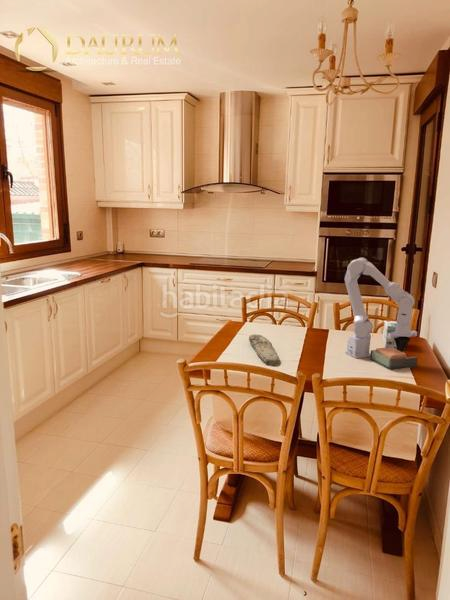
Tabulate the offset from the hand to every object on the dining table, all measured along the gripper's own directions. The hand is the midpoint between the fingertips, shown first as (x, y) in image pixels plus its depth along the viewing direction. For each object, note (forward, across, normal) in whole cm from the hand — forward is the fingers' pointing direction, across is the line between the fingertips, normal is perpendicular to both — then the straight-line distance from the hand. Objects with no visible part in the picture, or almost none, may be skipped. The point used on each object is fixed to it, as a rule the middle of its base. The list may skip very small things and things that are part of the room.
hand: (399, 352), depth 187 cm
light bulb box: (+5, +14, +21) cm, 26 cm away
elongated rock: (+5, -52, +29) cm, 60 cm away
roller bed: (+4, -3, 0) cm, 6 cm away
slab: (+1, -5, 0) cm, 5 cm away
